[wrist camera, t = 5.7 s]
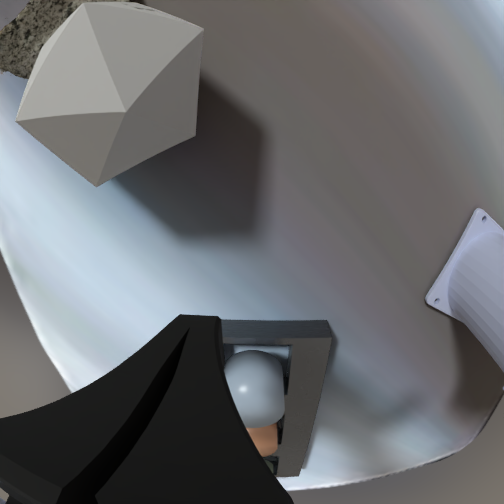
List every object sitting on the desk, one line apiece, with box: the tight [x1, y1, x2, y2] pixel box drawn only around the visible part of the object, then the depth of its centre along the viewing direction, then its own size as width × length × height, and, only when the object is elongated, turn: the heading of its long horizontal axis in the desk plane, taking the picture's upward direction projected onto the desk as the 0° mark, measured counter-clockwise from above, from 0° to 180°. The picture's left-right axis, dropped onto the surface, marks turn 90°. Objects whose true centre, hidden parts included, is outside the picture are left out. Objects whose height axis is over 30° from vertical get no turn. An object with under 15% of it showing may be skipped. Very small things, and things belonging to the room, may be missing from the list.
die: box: [15, 2, 204, 187], centre depth 11 cm, size 8×9×10 cm
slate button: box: [224, 350, 285, 428], centre depth 17 cm, size 4×4×4 cm
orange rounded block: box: [246, 422, 277, 457], centre depth 22 cm, size 4×4×4 cm
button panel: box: [221, 319, 332, 477], centre depth 23 cm, size 21×10×2 cm, turn 0°
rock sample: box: [0, 0, 129, 79], centre depth 11 cm, size 10×8×9 cm
